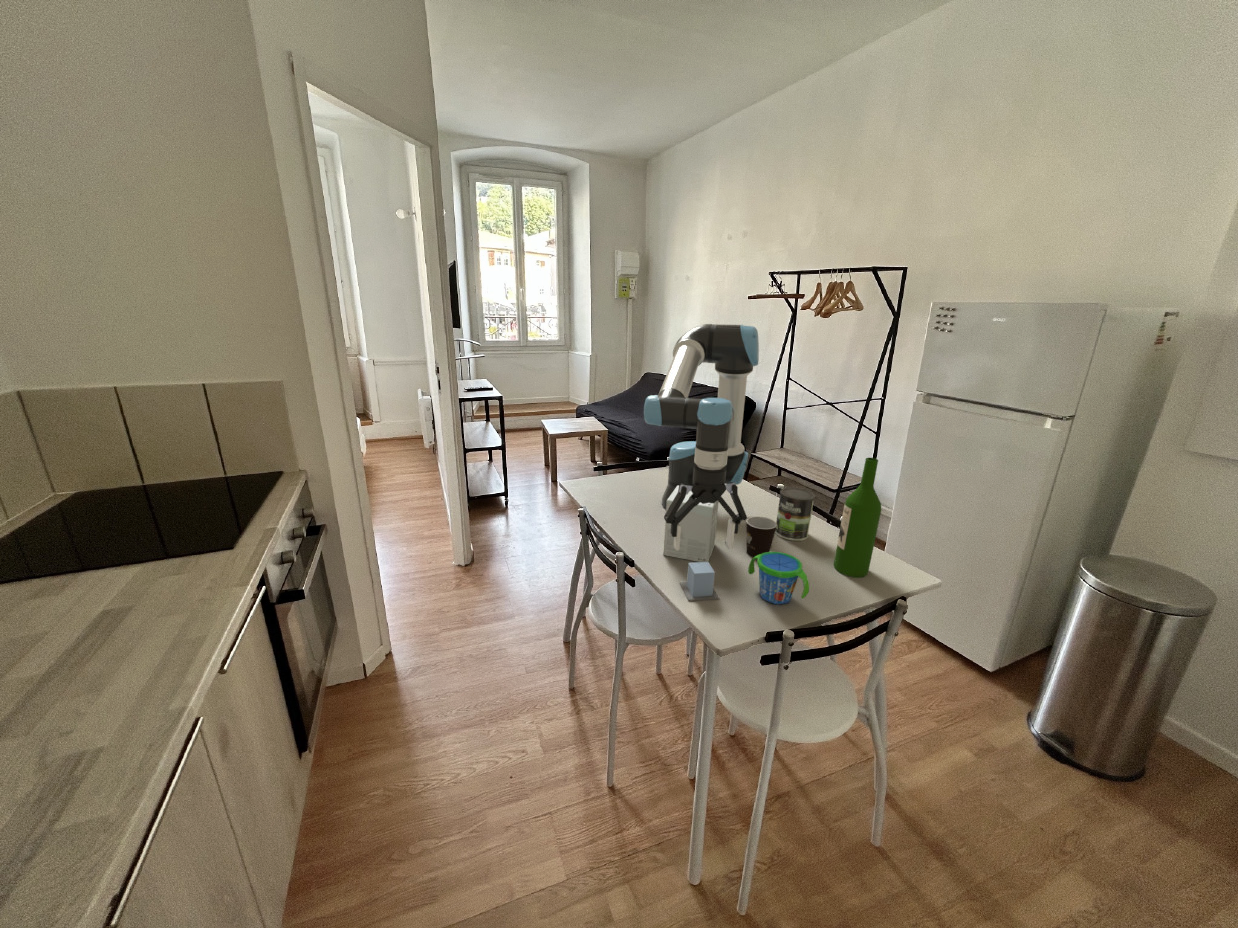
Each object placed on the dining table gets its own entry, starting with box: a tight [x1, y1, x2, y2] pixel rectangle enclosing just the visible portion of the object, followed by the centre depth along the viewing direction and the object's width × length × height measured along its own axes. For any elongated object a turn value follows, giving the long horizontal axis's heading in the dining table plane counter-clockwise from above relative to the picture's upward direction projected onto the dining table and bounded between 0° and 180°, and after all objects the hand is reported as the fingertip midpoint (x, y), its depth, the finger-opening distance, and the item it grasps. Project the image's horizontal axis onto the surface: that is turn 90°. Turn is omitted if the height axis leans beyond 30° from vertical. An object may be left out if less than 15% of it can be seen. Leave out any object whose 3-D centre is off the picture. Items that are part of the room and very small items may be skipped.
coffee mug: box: [745, 515, 777, 558], centre depth 145 cm, size 12×9×10 cm
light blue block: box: [686, 561, 716, 597], centre depth 124 cm, size 5×5×7 cm
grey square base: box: [679, 581, 720, 602], centre depth 125 cm, size 8×8×5 cm
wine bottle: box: [833, 457, 882, 578], centre depth 133 cm, size 9×9×32 cm
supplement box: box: [662, 485, 720, 562], centre depth 144 cm, size 13×13×18 cm
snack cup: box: [747, 551, 810, 605], centre depth 122 cm, size 16×10×10 cm
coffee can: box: [775, 487, 816, 542], centre depth 157 cm, size 10×10×14 cm
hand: (703, 546), depth 122 cm, fingers open, 13 cm apart
